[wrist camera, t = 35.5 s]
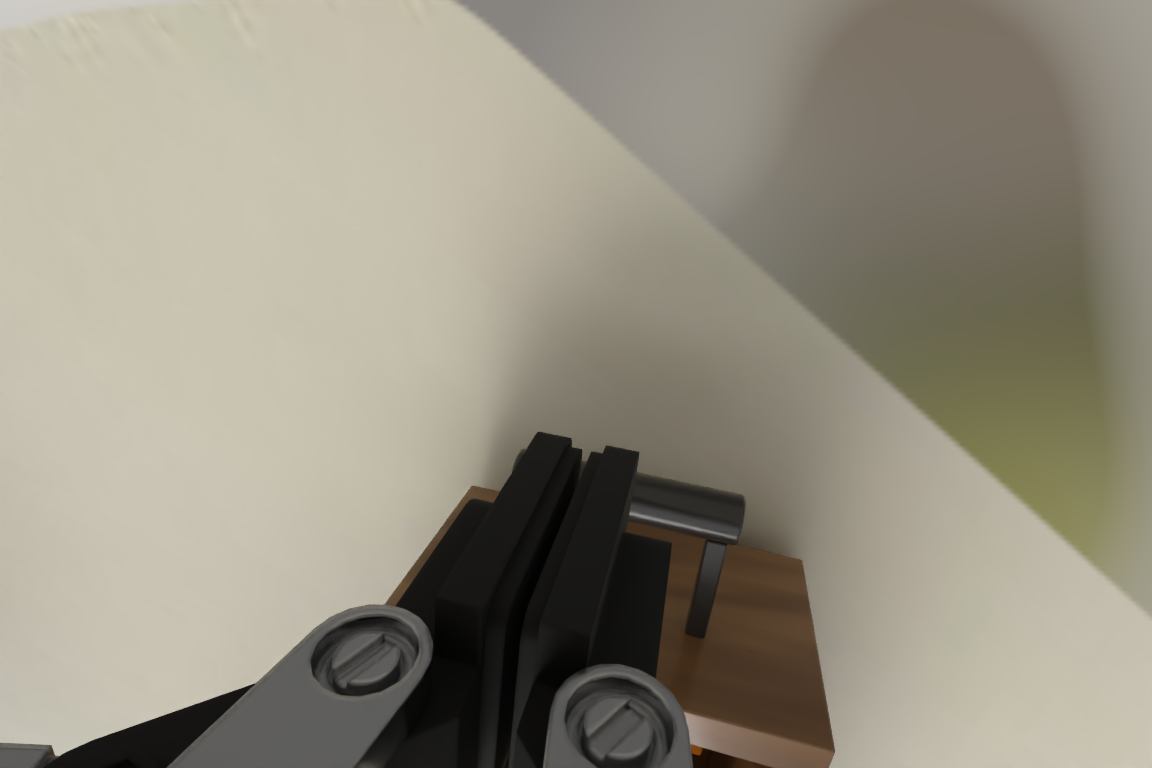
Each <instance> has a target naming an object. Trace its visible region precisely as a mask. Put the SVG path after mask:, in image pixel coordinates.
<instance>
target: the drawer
mask: <svg viewBox="0 0 1152 768" xmlns="http://www.w3.org/2000/svg"><path fill="white" fill-rule="evenodd" d="M526 450H527V449H522V450H521V451H520V452H519V454H518V455H517V457H516V460H515V463H514V466H513V470H514V469H515V467H516V466H517V464H518V462H519V461H520V459H521V458H522V456H523V454H524V453H525V451H526ZM586 463H587V462H586V461H581V469H580V477H579V480H580V478H581V475H582V473H583V470H584V468H585V466H586ZM513 470H512V472H513ZM499 493H500V492H498V491H494V490H489V489H485V488H481V487H476V486H471V488H470V489H469V490H468V492H467V493H466V494H465V496H464V497H463V499H462V500H461V501H460V503H459V504H458V505H457V507H456V508H455V509H454V511H453V512H452V514H451V515H450V516H449V518H448V519H447V520H446V522H445V523H444V524H443V526H442V527H441V528H440V530H439V531H438V533H437V534H436V535H435V537H434V538H433V539H432V541H431V542H430V543H429V545H428V546H427V548H426V549H425V550H424V552H423V553H422V554H421V556H420V557H419V558H418V560H417V561H416V563H415V564H414V565H413V567H412V568H411V569H410V571H409V572H408V573H407V575H406V576H405V577H404V579H403V580H402V582H401V583H400V584H399V586H398V587H397V588H396V590H395V591H394V592H393V594H392V595H391V597H390V598H389V599H388V601H387V602H386V603H385V605H391V606H396V604H397V603H398V601H399V600H400V598H401V597H402V596H403V594H404V593H405V591H406V590H407V588H408V587H409V585H410V584H411V583H412V581H413V580H414V578H415V577H416V575H417V574H418V572H419V571H420V570H421V568H422V567H423V565H424V564H425V562H426V561H427V559H428V558H429V557H430V555H431V554H432V552H433V551H434V549H435V548H436V547H437V545H438V544H439V542H440V541H441V539H442V538H443V536H444V535H445V534H446V532H447V531H448V529H449V528H450V526H451V525H452V523H453V522H454V521H455V519H456V518H457V516H458V515H459V513H460V512H461V510H462V509H463V508H464V506H465V505H466V504H467V502H468V501H469V500H470V499H473V498H475V499H480V500H484V501H489V502H493V503H494V501H495V499H496V498H497V496H498V495H499ZM745 506H746V502H745V497H744V496H743V495H742V494H737V493H732V492H728V491H723V490H718V489H713V488H709V487H704V486H699V485H694V484H690V483H685V482H680V481H676V480H671V479H666V478H661V477H657V476H652V475H647V474H642V473H638V472H636V477H635V483H634V489H633V495H632V501H631V507H630V513H629V519H628V525H627V530H626V532H628V533H632V534H637V535H641V536H646V537H650V538H655V539H659V540H664V541H668V542H672V549H671V558H670V566H669V574H668V582H667V590H666V599H665V607H664V615H663V623H662V631H661V640H660V648H659V656H658V664H657V672H656V679H657V680H659V681H660V682H661V683H662V684H663V685H664V686H665V687H666V688H667V689H668V690H669V691H670V692H672V693H673V695H674V697H675V698H676V700H677V701H678V703H679V704H680V706H681V708H682V709H683V711H684V714H685V718H686V721H687V725H688V729H689V735H690V744H691V745H694V746H698V747H701V748H703V750H702V753H701V755H696V754H692V762H693V768H829V766H830V763H831V761H832V758H833V756H834V753H835V748H834V742H833V736H832V730H831V725H830V719H829V713H828V707H827V702H826V696H825V690H824V684H823V678H822V673H821V667H820V661H819V655H818V650H817V644H816V638H815V632H814V626H813V621H812V615H811V609H810V603H809V597H808V592H807V586H806V580H805V574H804V569H803V563H802V560H800V559H796V558H791V557H787V556H782V555H778V554H773V553H769V552H765V551H760V550H756V549H751V548H747V547H742V546H738V545H736V544H737V543H738V541H739V539H740V536H741V532H742V528H743V522H744V516H745ZM509 757H510V753H509V756H508V758H507V761H506V764H505V767H504V768H508V767H509Z"/></svg>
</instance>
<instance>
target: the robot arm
mask: <svg viewBox="0 0 1152 768" xmlns="http://www.w3.org/2000/svg"><path fill="white" fill-rule="evenodd" d="M638 459H639V452H637V451H632V450H627V449H622V448H617V447H612V446H607V445H606V447H605V449H604V452H603V453H598V452H593V451H592V452H591V453H590V456H589V458H588V461H587V463H586V466H585V468H584V470H583V473H582V475H581V478H580V480H579V477H580V469H581V461H582V449H578V448H573V447H572V440H571V438H568V437H563V436H558V435H553V434H548V433H543V432H537V434H536V435H535V437H534V438H533V440H532V441H531V443H530V445H529V446H528V448H527V450H526V451H525V453H524V454H523V456H522V458H521V459H520V461H519V462H518V464H517V466H516V467H515V469H514V470H513V472H512V474H511V475H510V477H509V478H508V480H507V482H506V483H505V485H504V487H503V488H502V490H501V491H500V493H499V495H498V496H497V498H496V499H495V501H494V503H493V502H489V501H484V500H480V499H475V498H473V499H470V500H469V501H468V502H467V504H466V505H465V506H464V508H463V509H462V510H461V512H460V513H459V515H458V516H457V518H456V519H455V521H454V522H453V523H452V525H451V526H450V528H449V529H448V531H447V532H446V534H445V535H444V536H443V538H442V539H441V541H440V542H439V544H438V545H437V547H436V548H435V549H434V551H433V552H432V554H431V555H430V557H429V558H428V559H427V561H426V562H425V564H424V565H423V567H422V568H421V570H420V571H419V572H418V574H417V575H416V577H415V578H414V580H413V581H412V583H411V584H410V585H409V587H408V588H407V590H406V591H405V593H404V594H403V596H402V597H401V598H400V600H399V601H398V603H397V604H396V606H391V605H365V606H360V607H355V608H351V609H348V610H345V611H343V612H341V613H338V614H336V615H334V616H332V617H330V618H328V619H327V620H326V621H324V622H323V623H322V624H320V625H319V626H317V627H316V628H315V629H313V630H312V631H311V632H310V633H309V634H308V635H307V636H306V637H305V638H304V639H303V640H302V641H301V642H300V643H299V644H297V645H296V646H295V647H294V648H293V649H292V650H291V651H290V652H289V653H288V654H287V655H286V656H285V657H284V658H283V659H281V660H280V661H279V662H278V663H277V664H276V665H275V666H274V667H273V668H272V669H271V670H270V671H269V672H268V673H267V674H266V675H264V676H263V677H262V678H261V679H260V680H259V681H258V682H257V683H255V684H252V685H250V686H247V687H244V688H241V689H238V690H235V691H232V692H230V693H227V694H224V695H221V696H218V697H215V698H212V699H210V700H207V701H204V702H201V703H198V704H195V705H192V706H190V707H187V708H184V709H181V710H178V711H175V712H172V713H170V714H167V715H164V716H161V717H158V718H155V719H152V720H149V721H147V722H144V723H141V724H138V725H135V726H132V727H129V728H127V729H124V730H121V731H118V732H115V733H112V734H109V735H107V736H104V737H101V738H98V739H95V740H92V741H90V742H88V743H86V744H84V745H81V746H79V747H77V748H75V749H72V750H70V751H68V752H66V753H64V754H62V755H61V756H55V754H54V752H53V749H52V746H51V745H36V744H14V743H0V768H504V767H505V764H506V761H507V758H508V756H509V753H510V757H509V767H508V768H693V762H692V753H691V744H690V735H689V729H688V725H687V721H686V718H685V714H684V711H683V709H682V708H681V706H680V704H679V703H678V701H677V700H676V698H675V697H674V695H673V693H672V692H670V691H669V690H668V689H667V688H666V687H665V686H664V685H663V684H662V683H661V682H660V681H659V680H657V679H656V672H657V664H658V656H659V648H660V640H661V631H662V623H663V615H664V607H665V599H666V590H667V582H668V574H669V566H670V558H671V549H672V542H668V541H664V540H659V539H655V538H650V537H646V536H641V535H637V534H632V533H628V532H626V530H627V525H628V519H629V513H630V507H631V501H632V495H633V489H634V483H635V477H636V471H637V465H638Z"/></svg>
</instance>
